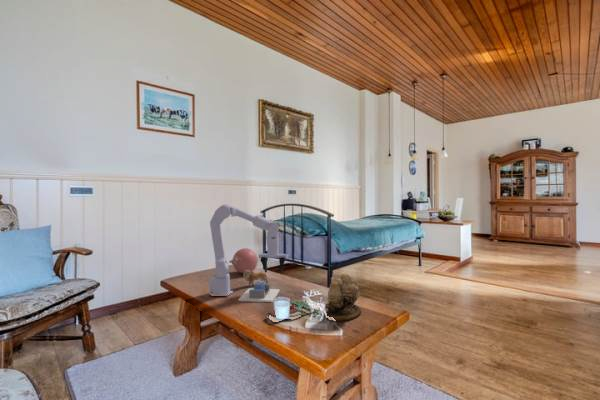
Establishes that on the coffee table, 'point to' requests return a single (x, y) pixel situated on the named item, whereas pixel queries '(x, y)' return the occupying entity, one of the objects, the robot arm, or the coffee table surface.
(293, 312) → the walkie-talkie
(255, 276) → the lion figurine
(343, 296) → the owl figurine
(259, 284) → the block
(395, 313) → the coffee table surface
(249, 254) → the balloon
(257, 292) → the pocket plate
